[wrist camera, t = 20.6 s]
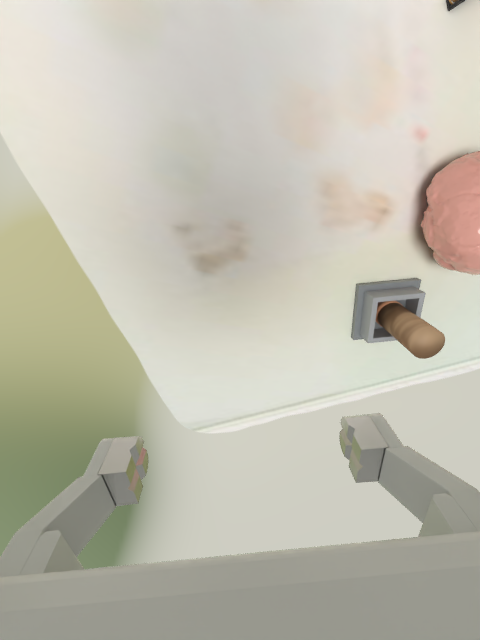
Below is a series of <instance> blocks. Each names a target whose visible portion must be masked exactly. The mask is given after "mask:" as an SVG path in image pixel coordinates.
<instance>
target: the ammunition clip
mask: <svg viewBox="0 0 480 640" xmlns="http://www.w3.org/2000/svg"><path fill="white" fill-rule="evenodd" d="M464 1H465V0H447V6H448V10H449V11H450V10H451V9H453V8H454V7H456V6H457V5H459V4H461V3H462V2H464Z"/></svg>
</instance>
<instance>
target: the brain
mask: <svg viewBox="0 0 480 640" xmlns="http://www.w3.org/2000/svg"><path fill="white" fill-rule="evenodd" d="M426 196H427V203H428V207H427V210H426V211H425V212H423V213H424V219H423V220H422V223H421V225H420V226H421V227H422V228H423V233H424V237H425V240H426V241H427V244H428V246H429V247H430V248H431V249H432V250H434V252H433V257H434V259H435V261H436V262H437V263H438V264H439V265H440V266H441V267H443V268H446V269H449V270H456V271H459V272H464V273H468V274H472V275H478V274H480V151H478V152H473V153H471V154H468V153H467V154H466V155H464V156H462V157H460V158H458V159H456V160H454V161H452V162H450V163H449V164H448V165H447V166H446V167H445V168H443V169H442V170H441V171H439V172H437V173H436V174H435V176H434V178H433V179H432V182H431V184H430V185H429V187H428V188H427V190H426Z"/></svg>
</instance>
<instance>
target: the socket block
mask: <svg viewBox="0 0 480 640" xmlns="http://www.w3.org/2000/svg"><path fill="white" fill-rule="evenodd" d="M420 282H421V280H420V279H418V278H413V279H403V280H392V281H382V282H372V283H361V284H356V294H355V304H354V314H353V324H352V335H351V338H352V339H353V340H358V339H364V340H365V341H366V342H367V343H374V342H384V341H394V340H397V339H395V338H394V337H393V336H392V335H391V334H390V333H389V332H388V331H387V330H385V329H384V328H383V327H382V326H380V325H379V324H378V323H377V322H376V321H375V320H376V313H377V306H378V302H385V301H397V302H399V303H400V304H402V305H403V307H405V308H406V309H408V310H409V311H411V312H412V313H414V314H415V315H417V316H418V317H420V316H421V312H422V307H423V302H424V298H425V292H423V291H421V290H419V287H420Z"/></svg>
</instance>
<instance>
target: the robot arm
mask: <svg viewBox="0 0 480 640" xmlns="http://www.w3.org/2000/svg"><path fill="white" fill-rule="evenodd" d="M341 425H342V428H343V429H342V430H341V431H340V445H341V449H342V452H343V454H344V456H345V457H346V458H347V459H349V460H350V463H349V468H350V470H351V472H352V475H353V477H354V479H355V481H356V483H359V482H373V481H379V482H378V483H380V484H381V485H382V486H383V487H384V488H385V489H386V490H387V491H388V492H389V493H390V494H392V495H393V496H394V497H395V498H396V499H397V500H398V501H399V502H400V503H401V504H403V505H404V506H405V507H406V508H407V509H408V510H409V511H410V512H411V513H412V514H414V515H415V516H416V517H417V518H418V519H419V520H420V521H421V522H422V523H423V525H422V528H421V530H420V533H419V536H418V537H413V538H403V539H392V540H382V541H372V542H362V543H352V544H341V545H331V546H320V547H309V548H299V549H288V550H279V551H267V552H257V553H247V554H237V555H226V556H216V557H206V558H196V559H186V560H175V561H166V562H165V561H164V562H154V563H144V564H134V565H123V566H114V567H113V566H112V567H102V568H92V569H84V568H83V567H82V565H81V564H80V562H79V560H78V559H77V556H78V555H79V553H80V552H81V551H82V550H83V548H84V547H85V546H86V545H87V543H88V542H89V541H90V539H91V538H92V537H93V536H94V534H95V533H96V532H97V531H98V529H99V528H100V527H101V526H102V524H103V523H104V522H105V521H106V519H107V518H108V517H109V516H110V514H111V513H112V512H113V510H114V509H115V508H116V506H120V505H129V504H137V503H138V502H139V499H140V495H141V492H142V488H143V485H142V482H141V480H142V479H143V478H144V477H145V476H146V473H147V469H148V454H147V450H146V449H144V448H143V443H144V441H143V439H142V437H141V436H136V437H122V438H109V439H103V440H102V441H101V442H100V443H99V445H98V447H97V449H96V451H95V453H94V455H93V457H92V459H91V461H90V463H89V465H88V467H87V469H86V471H85V473H84V475H83V477H79V478H77V479H76V480H75V481H74V482H73V483H72V484H71V485H69V486H68V487H67V488H66V489H65V490H64V491H63V492H61V493H60V494H59V495H58V496H57V497H56V498H54V499H53V500H52V501H51V502H50V503H49V504H48V505H46V506H45V507H44V508H43V509H42V510H41V511H40V512H38V513H37V514H36V515H35V516H34V517H33V518H32V519H30V520H29V521H28V522H27V523H26V524H25V525H23V527H21V528H20V529H19V530H18V531H17V532H16V533H15V534H14V535H13V537H12V539H11V540H10V542H9V544H8V545H7V547H6V549H5V550H4V552H3V554H2V555H1V557H0V640H480V492H479V491H478V490H477V489H476V488H474V487H473V486H471V485H469V484H468V483H466V482H464V481H463V480H461V479H460V478H458V477H456V476H455V475H453V474H452V473H450V472H448V471H447V470H445V469H444V468H442V467H440V466H439V465H437V464H436V463H434V462H432V461H431V460H429V459H428V458H426V457H424V456H423V455H421V454H419V453H418V452H416V451H415V450H413V449H411V448H410V447H408V446H403V444H402V443H401V441H400V440H399V439H398V437H397V436H396V434H395V433H394V431H393V430H392V428H391V427H390V425H389V424H388V423H387V421H386V420H385V418H384V417H383V415H382V414H380V413H377V414H367V415H356V416H347V417H342V419H341Z"/></svg>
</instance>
